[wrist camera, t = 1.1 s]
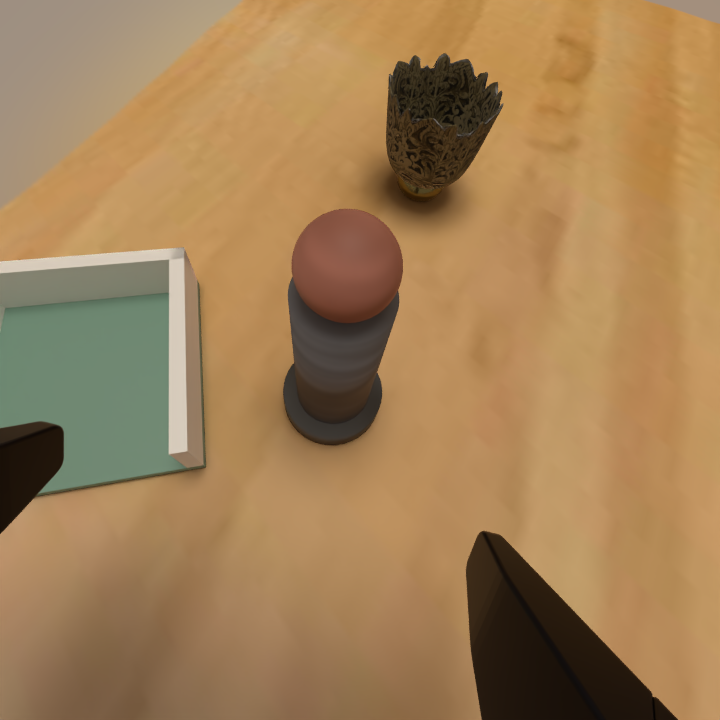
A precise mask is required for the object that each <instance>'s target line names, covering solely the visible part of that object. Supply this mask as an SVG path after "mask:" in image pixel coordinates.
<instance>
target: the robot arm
mask: <svg viewBox="0 0 720 720" xmlns="http://www.w3.org/2000/svg"><path fill="white" fill-rule="evenodd" d="M63 461H64V430H63V428H62V427H61V426H60V425H56V424H53V423H49V422H44V421H37V422H31V423H26V424H20V425H15V426H9V427H4V428H0V534H1V533H2V532H3V531H4V530H5V529H6V528H7V526H8V525H9V524H10V523H11V522H12V521H13V520H14V519H15V518H16V517H17V516H18V515H19V514H20V513H21V512H22V510H23V509H24V508H25V507H26V506H27V505H28V504H29V503H30V502H31V501H32V500H33V498H34V497H35V496H36V495H37V494H38V493H39V492H40V491H41V490H42V489H43V488H44V487H45V485H46V484H47V483H48V482H49V481H50V480H51V479H52V478H53V477H54V476H55V475H56V473H57V472H58V471H59V470H60V468H61V466H62V464H63ZM466 580H467V597H468V614H469V631H470V645H471V654H472V661H473V668H474V674H475V680H476V686H477V693H478V699H479V705H480V711H481V717H482V720H678V719H677V718H676V717H675V716H674V715H673V714H672V713H671V712H670V711H669V710H668V709H667V708H666V707H665V706H664V705H663V703H662V702H661V701H660V700H659V699H658V698H656V697H653V696H652V693H651V691H650V690H649V689H648V688H647V687H646V686H645V685H644V684H643V683H642V682H641V681H640V680H639V679H638V678H637V677H636V675H635V674H634V673H633V672H632V671H631V670H630V669H629V668H628V667H627V666H626V665H625V664H624V663H623V662H622V661H621V660H620V659H619V658H618V657H617V656H616V655H615V654H614V653H613V652H612V650H611V649H610V648H609V647H608V646H607V645H606V644H605V643H604V642H603V641H602V640H601V639H600V638H599V637H598V636H597V635H596V634H595V633H594V632H593V631H592V630H591V629H590V628H589V626H588V625H587V624H586V623H585V622H584V621H583V620H582V619H581V618H580V617H579V616H578V615H577V614H576V613H575V612H574V611H573V610H572V609H571V608H570V607H569V606H568V605H567V604H566V602H565V601H564V600H563V599H562V598H561V597H560V596H559V595H558V594H557V593H556V592H555V591H554V590H553V589H552V588H551V587H550V586H549V585H548V584H547V583H546V582H545V581H544V580H543V579H542V577H541V576H540V575H539V574H538V573H537V572H536V571H535V570H534V569H533V568H532V567H531V566H530V565H529V564H528V563H527V562H526V561H525V560H524V559H523V558H522V557H521V556H520V555H519V553H518V552H517V551H516V550H515V549H514V548H513V547H512V546H511V545H510V544H509V543H508V542H507V541H506V540H505V539H504V538H503V537H502V536H501V535H499V534H495V533H491V532H487V531H482V532H480V533H479V534H478V536H477V538H476V541H475V543H474V546H473V548H472V551H471V553H470V556H469V558H468V561H467V566H466Z"/></svg>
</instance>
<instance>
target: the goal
mask: <svg viewBox="0 0 720 720" xmlns="http://www.w3.org/2000/svg"><path fill="white" fill-rule="evenodd" d="M37 421H44V422H49V423H53V424H56V425H60V426H61V427H62V428H63V430H64V461H63V464H62V466H61V468H60V470H59V471H58V472H57V473H56V475H55V476H54V477H53V478H52V479H51V480H50V481H49V482H48V483H47V484H46V485H45V487H44V488H43V489H42V490H41V491H40V492H39V493H38V494H37V495H36V496H41V495H47V494H53V493H58V492H64V491H70V490H76V489H82V488H87V487H93V486H99V485H105V484H111V483H117V482H122V481H128V480H134V479H140V478H146V477H151V476H157V475H163V474H169V473H175V472H181V471H186V470H192V469H198V468H204V467H206V460H205V432H204V404H203V376H202V349H201V321H200V293H199V283H198V280H197V278H196V276H195V273H194V271H193V268H192V266H191V263H190V261H189V259H188V256H187V254H186V251H185V249H184V247H183V248H170V249H157V250H144V251H131V252H118V253H105V254H93V255H80V256H67V257H54V258H41V259H28V260H15V261H2V262H0V428H4V427H9V426H15V425H20V424H26V423H31V422H37Z"/></svg>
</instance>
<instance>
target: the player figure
mask: <svg viewBox="0 0 720 720" xmlns="http://www.w3.org/2000/svg"><path fill="white" fill-rule="evenodd" d="M402 274H403V259H402V254H401V250H400V247H399V244H398V242H397V240H396V238H395V236H394V235H393V233H392V232H391V230H390V229H389V228H388V227H387V226H386V225H385V224H384V223H383V222H382V221H381V220H379V219H378V218H376V217H375V216H373V215H371V214H369V213H367V212H364V211H360V210H355V209H339V210H334V211H330V212H328V213H325V214H323V215H321V216H319V217H317V218H316V219H315V220H313V221H312V222H311V223H310V224H309V225H308V226H307V227H306V228H305V229H304V231H303V232H302V233H301V235H300V236H299V238H298V240H297V242H296V245H295V248H294V251H293V256H292V275H293V277H292V279H291V281H290V285H289V289H288V303H289V313H290V323H291V334H292V344H293V354H294V364H293V365H292V366H291V368H290V369H289V371H288V373H287V375H286V378H285V382H284V388H283V395H284V401H285V407H286V411H287V415H288V417H289V419H290V421H291V423H292V425H293V426H294V427H295V428H296V430H297V431H298V432H299V433H301V434H302V435H303V436H305V437H306V438H308V439H310V440H312V441H314V442H317V443H320V444H325V445H339V444H344V443H347V442H350V441H352V440H354V439H356V438H358V437H359V436H361V435H362V434H363V433H364V432H366V430H367V429H368V428H369V427H370V426H371V424H372V422H373V421H374V419H375V416H376V414H377V412H378V409H379V407H380V404H381V399H382V386H381V381H380V378H379V376H378V373H377V371H378V368H379V365H380V362H381V359H382V356H383V353H384V350H385V347H386V344H387V341H388V338H389V335H390V332H391V329H392V326H393V323H394V320H395V317H396V314H397V311H398V307H399V293H398V289H399V286H400V283H401V279H402Z"/></svg>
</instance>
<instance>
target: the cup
mask: <svg viewBox="0 0 720 720" xmlns="http://www.w3.org/2000/svg"><path fill="white" fill-rule="evenodd" d="M420 60H421V59H420V58H419V57H417V56H416V55H415V56H413V57H412V59H411V60H410V63H409V65H408V63H405V62H402V61H398V63H397V64H396V67H395V69H394V72H393V76H392V75H391V74H389V91H388V108H387V128H386V145H387V154H388V158H389V161H390V164H391V166H392V168H393V169H394V171H395V172H396V173H397V175H398V184H399V188H400V190H401V191H402V193H403V194H404V195H406V196H407V197H409V198H410V199H413V200H416V201H428V200H431V199H433V198H435V197H436V196H437V195H438V194H439V193H440V192H441V190H442V188H443V187H445V186H448V185H450V184H452V183H453V182H455V181H456V180H457V179H459V178H460V177H461V176H462V175H463V174H464V173H465V171H466V170H467V169H468V167H469V166H470V164H471V163H472V161H473V160H474V158H475V156H476V155H477V153H478V151H479V149H480V147H481V146H482V144H483V142H484V140H485V138H486V136H487V135H488V133H489V131H490V129H491V127H492V125H493V123H494V122H495V120H496V118H497V116H498V114H499V113H500V111H501V109H502V107H503V103H502V104H501V106H500V100H501V97H502V91H500V92H499V93H498V82H495V83H492V84H490V85H489V86H488V87H487V88H486V89H485V86H486V82H487V77H488V73H487V72H485V73H480V74H479V75H478V76H477V77H478V78H477V77H476V76H475V75H474V69H473V66H472V64H471V62H470V61H469V60H468V59H464V60H460V61H457V62H454V63H450V58H449V56H448V55H447V54H445V53H444V54H442V55H441V56H439V58H438V60H437V61H438V62H437V61H436V63H435V65H436V66H435V65H434V66H435V68H431V69H430V68H429V67H428V65H426V66H425V68H421V67H420ZM434 66H433V67H434ZM476 78H477V79H476ZM497 93H498V94H497ZM499 107H500V108H499Z"/></svg>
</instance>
